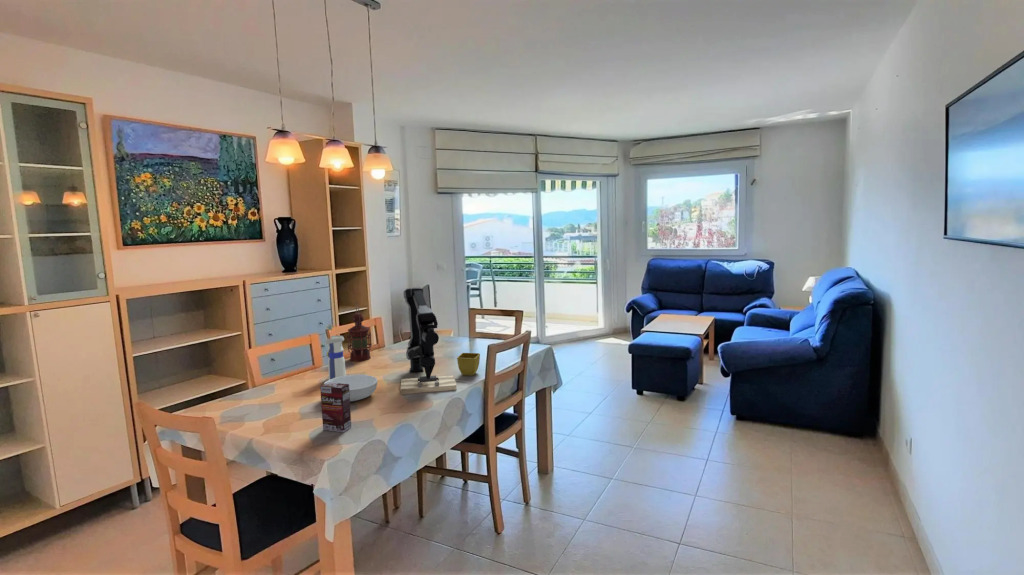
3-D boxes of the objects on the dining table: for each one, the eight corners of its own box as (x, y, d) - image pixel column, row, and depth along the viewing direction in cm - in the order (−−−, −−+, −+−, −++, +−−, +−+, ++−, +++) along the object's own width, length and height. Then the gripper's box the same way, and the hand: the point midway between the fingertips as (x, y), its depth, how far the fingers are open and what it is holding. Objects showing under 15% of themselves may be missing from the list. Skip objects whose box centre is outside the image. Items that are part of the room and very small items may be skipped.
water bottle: (323, 380, 233) (319, 326, 230) (335, 375, 241) (331, 322, 238) (338, 381, 231) (335, 327, 228) (350, 376, 239) (347, 323, 236)
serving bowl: (357, 409, 196) (356, 392, 195) (313, 403, 204) (311, 387, 203) (388, 392, 216) (387, 376, 215) (347, 387, 223) (346, 372, 222)
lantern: (346, 357, 272) (342, 301, 268) (369, 354, 278) (366, 299, 274) (350, 363, 261) (346, 304, 257) (374, 359, 267) (371, 302, 263)
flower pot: (475, 377, 234) (475, 358, 233) (457, 376, 236) (456, 357, 234) (480, 371, 242) (480, 353, 241) (462, 371, 244) (462, 352, 243)
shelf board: (401, 383, 227) (401, 375, 226) (454, 379, 231) (453, 371, 230) (400, 394, 213) (400, 385, 213) (456, 389, 217) (456, 381, 217)
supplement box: (322, 430, 177) (319, 386, 175) (330, 425, 182) (327, 381, 180) (344, 432, 175) (341, 387, 173) (352, 427, 179) (349, 383, 177)
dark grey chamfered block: (420, 384, 226) (419, 376, 225) (436, 383, 227) (435, 375, 227) (420, 386, 223) (419, 378, 223) (436, 385, 224) (436, 377, 224)
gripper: (407, 336, 230) (409, 370, 232) (407, 346, 212) (408, 383, 214) (433, 335, 232) (434, 368, 234) (434, 345, 214) (435, 381, 216)
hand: (428, 375), depth 224 cm, fingers open, 9 cm apart
